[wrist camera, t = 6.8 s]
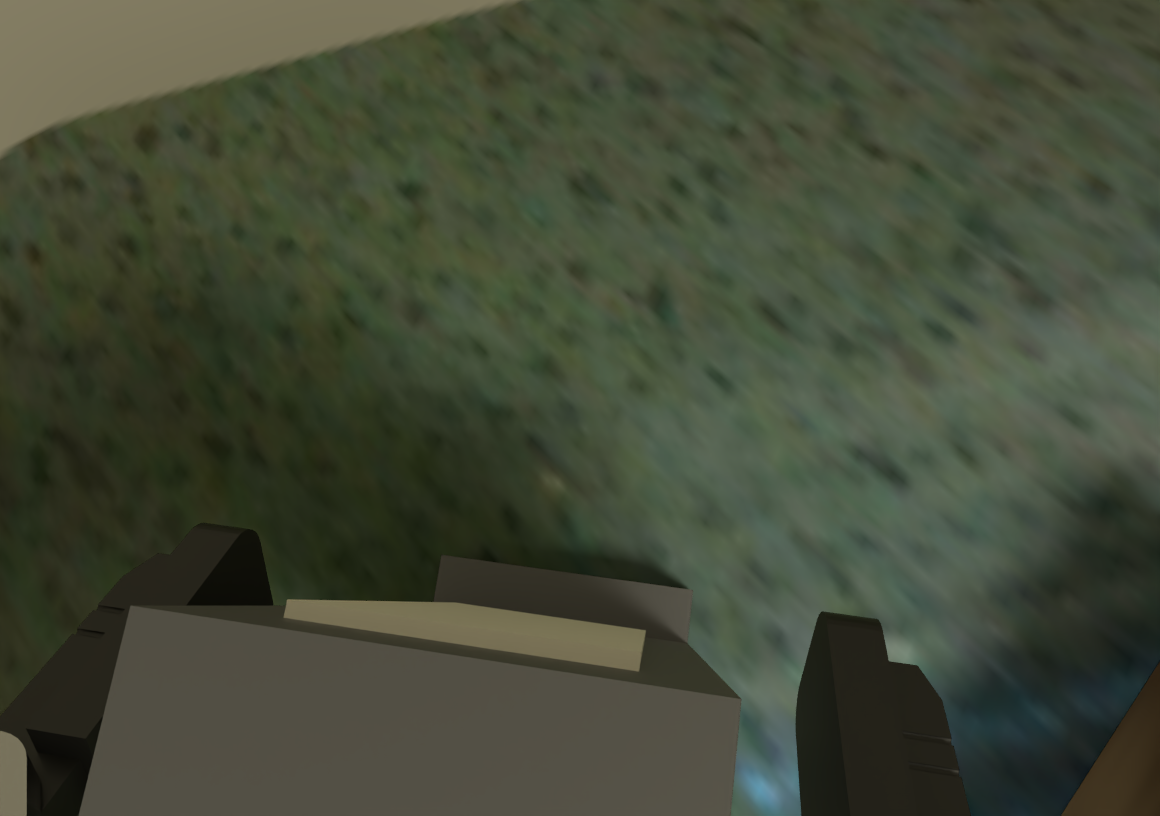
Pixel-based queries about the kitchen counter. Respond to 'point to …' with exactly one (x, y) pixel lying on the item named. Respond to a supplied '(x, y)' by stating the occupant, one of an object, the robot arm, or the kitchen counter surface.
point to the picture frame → (421, 705)
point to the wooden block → (1126, 764)
